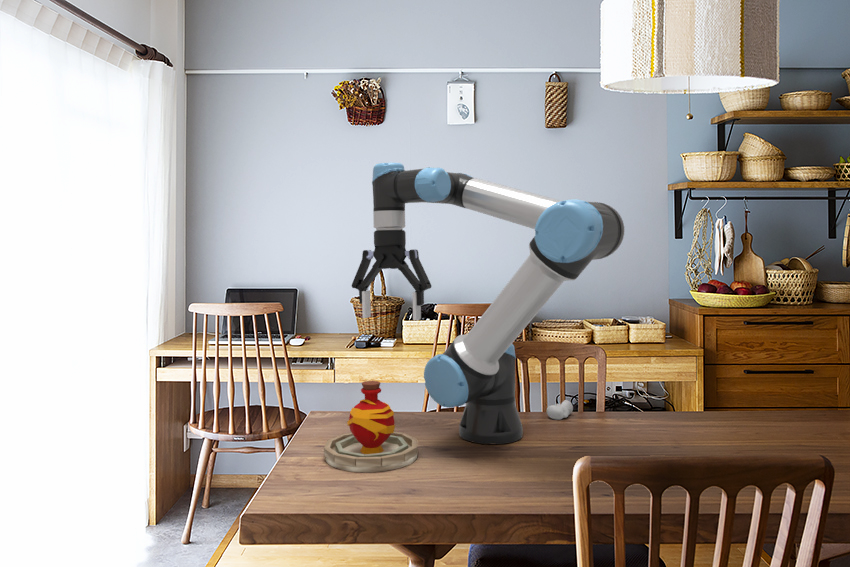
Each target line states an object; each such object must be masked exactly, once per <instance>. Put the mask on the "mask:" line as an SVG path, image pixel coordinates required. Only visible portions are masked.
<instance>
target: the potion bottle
mask: <svg viewBox="0 0 850 567" xmlns="http://www.w3.org/2000/svg"><path fill="white" fill-rule="evenodd" d="M361 385H362V388H361V389H360V391H361V392H360V393H362V394H363V395H364V399H361V400H359V403H357V404H356V405H354V406H353V407H351V410H350V412H349V418H348V421H346V424H347V426H348V427H349V429H350V433H351V432H352V434H353V435H354V437H355V438H356V439H357V440H358V441H359V442H360V443H361V444H362V445H363V446H362V448H361V450H360V452H361V453H362V454H376V453H382V452H383V451H384V450H383V448H382V447H381V445H382V444H383V443H384V442H385V441H386V440H387V439H388V438H389V436H390V435H391V433H394V432H395V428H396V425H395V423H396V421H395V417H394V415H395V413H394V410H393V409H392V408H391V406H390V405H389V404H388V403H387V402H385V401H384V402H383V401H381V400H380V399H379V396H378V395H379V394H380V393H381V392H382V388H381V387H380V386H381V382H380V381H377V380H366V381H363V382H361Z"/></svg>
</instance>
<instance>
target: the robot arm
mask: <svg viewBox="0 0 850 567" xmlns="http://www.w3.org/2000/svg"><path fill="white" fill-rule="evenodd" d="M371 185H372V199H373V202H372V203H373V209H372V210H373V211H372V212H373V213H372V214H373V228H374V229H376V230H374V232H373V245H374V250H372V249H364V250H363V251H362V253H361V254H362V256H361V261H360V264H359V266H358V268H357V270H356V273H355V276H354V278H353V281H352V283H351V287H352V289H355V290H358V296H359V297H358V298H359V305H362V307H361V308H362V309H361V310H362V312H361V313H362V319H369V318H372V316H371V313H372V310H371V304H372V303H371V290H369V287H370V286H371V284H372V283H373V282H374V281H375V279H376V277H377V276H378V275H379V274H380V272H381V271H382V270H387V269H389V270H396V269H397V270H398V271H399V272H401V273H402V275H403V276H404V278H406V280H407V281H408V283H409V284H410V285H411V286H412V288H413V289H414V290H415V291H413V292H412V320H413V321H418V320H422V313H421V312H422V308H421V307H422V306H424V304H425V291H427V290H429V289H431V288H432V284H431V282H430V280H429V277H428V275H427V273H426V271H425V269H424V266H423V264H422V262H421V260H420V256H419V255H420V254H419V250H418V249H416V248H414V249H409V250H407V248H406V246H407V245H406V234H407V233H406V231H405V230H404V228H406V204H415V203H418V204H419V203H427V204H429V203H431V204H447V205H452V206H455V207H456V206H457V207H459V208H463V209H468V210H471V211H475V212H478V213H481V214H484V215H486V216H490V217H494V218H495V219H496V218H497V219H500V220H502V221H506V222H510V223H513V224H517V225H519V226H523V227H526V228H529V229H533V230H534V231H535V234H534V236H533V237H532V239H531V240H530V241H529V242H528V248H529V256H527V257H526V259H525V260H524V262H523V263H522V264H521V266H520V267H519V268H518V270H516V272H515V273H514V274H513V275H512V277H511V278H510V279H509V281H508V282H507V283H506V284H505V286H504V287H503V288H502V290H501V291H500V292H499V293H498V295H497V296H496V297H495V299H494V300H493V301H491V304H490V305H489V306H488V308H487V309H486V310H485V311H484V312H483V314H482V315H481V316H480V318H479V319H478V320H477V321H476V323H475V324H474V325H473V327H471V329H470V331H469V332H467V334H459V335H458V336H456V337H455V338H454V340H453V341H452V342H451V343H450V345H449V346H448V347H447V348H446V350H445V351H444V352H443V353H439V354H436V355H434V356H432V357H431V358H430V359H428V361H427V362H426V365H425V366H424V371H423V379H424V387H425V388H426V392H427V393H428V394H429V396H430V397H431V399H432V401H434V402H435V403H436V404H438V405H439V406H442V407H444V408H455V407H461V406H463V405H464V404H465V406H464V410H463V412H462V416H461V419H460V423H459V424H458V425H459V427H458V428H459V430H458V432H459V434H458V435H459V437H460V438H462V439H463V440H465V441H468V442H471V443H477V444H482V445H483V444H484V445H485V444H486V445H502V444H510V443H514V442H517V441H519V440H521V439H522V438H523V434H524V433H523V430H524V429H523V425H522V421H521V418H520V415H519V411H518V409H517V405H516V359H517V357H516V351H515V349H516V348H515V345H514V344H513V343H514V342H515V341H516V339H517V338H518V337H519V336H520V335H521V333H522V332H523V331H524V330H525V328H527V326H528V325H529V324H530V322H531V321H532V320H533V319H534V318H535V317H536V316H537V314H538V313H539V312H540V311H541V309H543V307H544V306H545V305H546V303H547V302H548V301H549V300H550V299H551V298H552V297H553V295H554V294H555V293H556V291H558V289H559V288H560V287H561V286H562V284H563V283H564V282H567V281H575V280H576V279H577V278H578V277H579V276H580V275H581V274H582V273H583V272H584V270H585V269H586V268H587V266H589V264H590V263H591V262H592V261H595V260H602V259H604V258H606V257H607V258H608V257H609V256H611V255H613V254H614V253H615V252H616V251H617V250H618V249H619V248H620V246H621V244H622V242H623V240H624V238H625V237H624V236H625V225H624V220H623V218H622V216H621V214H620V213H619V212H618V211H617V210H616V209H615V208H613V206H610V205H608V204H606V203H603V202H597V201H585V200H582V199H576V198H574V199H571V198H570V199H566V200H560V199H555V198H552V197H547V196H544V195H540V194H537V193H533V192H529V191H526V190H522V189H518V188H516V187H515V188H514V187H511V186H507V185H503V184H501V183H500V184H499V183H497V182H492V181H489V180H488V181H487V180H484V179H480V178H477V177H476V178H475V177H474V176H471V175H469V174H466V173H462V172H449V171H446V170H445V169H444V168H442V167H424V168H418V169H410V170H405V166H404V164H403V163H400V162H380V163H376V164H375V165H374V166H373V168H372V181H371ZM406 258H408V260H410V264H411V266H412V268H413V270H414V272H415V274H416V275H415V274H414V272H413V271H412V270H411V269H410V267H409V264H408V263H407V262H406V261H405V260H406ZM373 259H375V261H374V263H373V265H372V266H371V262H372V260H373ZM370 266H371V269H370V270H369V267H370ZM368 270H369V272H368Z"/></svg>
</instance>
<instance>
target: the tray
mask: <svg viewBox="0 0 850 567" xmlns="http://www.w3.org/2000/svg"><path fill="white" fill-rule="evenodd" d="M362 446H363V445H362V444H361V443H360V442H359V441H358V440H357V439H356V438H355V437H354V435H353V434H352V432H351V431H350V432H347V433H342V434H339V435H337V436H334V437H332V438H330V439H328V440H327V441H326V442H325V444H324V447H323V456H324V458H325V462H326V463H327V464H328V465H329V466H330V467H332V468H335V469H338V470H341V471H346V472H352V473H354V472H355V473H380V472H381V473H382V472H389V471H394V470H397V469H398V470H399V469H401V468H404V467H407V466H409V465H412V464H413V463H414V462H415V461H416V460H417V459H418V455H419V454H418V451H419V450H418V448H419V447H418V439H417V438H416V437H414V436H412V435H410V434H408V433H405V432H400V431H394V433H391V435H390V436H389V438H388V439H387V440H386V441H385V442H384V443H383V444H382V445H381V447H382V448H383V450H384V451H383V452H382V453H376V454H362V453H361V452H360V450H361V448H362Z"/></svg>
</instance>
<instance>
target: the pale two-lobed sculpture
mask: <svg viewBox="0 0 850 567" xmlns="http://www.w3.org/2000/svg"><path fill="white" fill-rule="evenodd" d="M573 410H574V407H573V404H572V402H571V401H569V400H568V399H565V400H562V402H561V403H556V404H551V405H549V406H547V408H546V414H547V416H548V417H549V418H550V419H552V420H556V421H557V420H558V421H559V420H562V419H564V418H567V417H569V415H571V414H572V413H573Z"/></svg>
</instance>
